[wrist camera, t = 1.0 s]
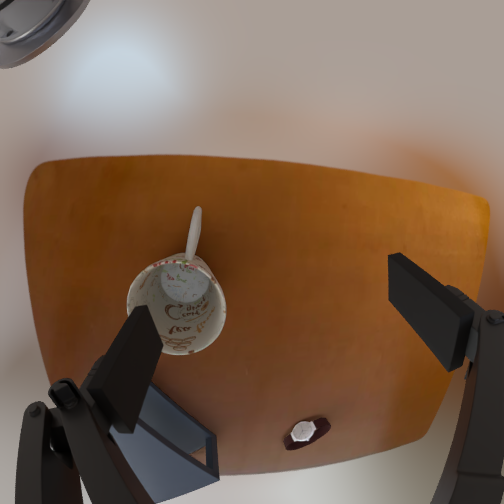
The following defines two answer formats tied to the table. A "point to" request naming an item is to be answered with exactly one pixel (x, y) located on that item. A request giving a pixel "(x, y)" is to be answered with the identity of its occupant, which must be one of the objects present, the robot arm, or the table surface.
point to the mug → (182, 298)
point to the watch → (306, 433)
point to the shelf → (168, 449)
